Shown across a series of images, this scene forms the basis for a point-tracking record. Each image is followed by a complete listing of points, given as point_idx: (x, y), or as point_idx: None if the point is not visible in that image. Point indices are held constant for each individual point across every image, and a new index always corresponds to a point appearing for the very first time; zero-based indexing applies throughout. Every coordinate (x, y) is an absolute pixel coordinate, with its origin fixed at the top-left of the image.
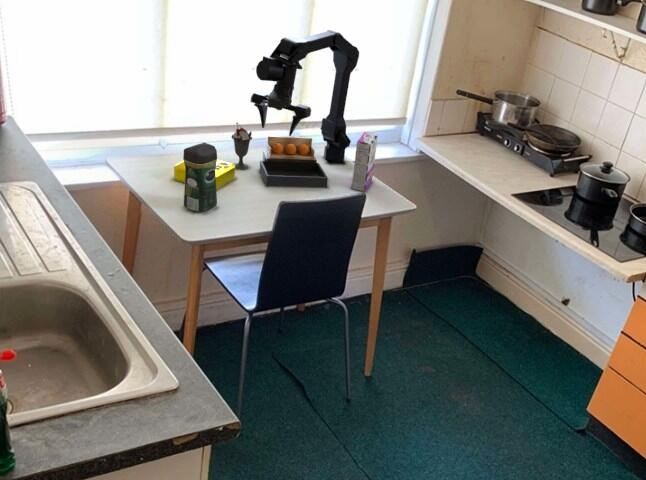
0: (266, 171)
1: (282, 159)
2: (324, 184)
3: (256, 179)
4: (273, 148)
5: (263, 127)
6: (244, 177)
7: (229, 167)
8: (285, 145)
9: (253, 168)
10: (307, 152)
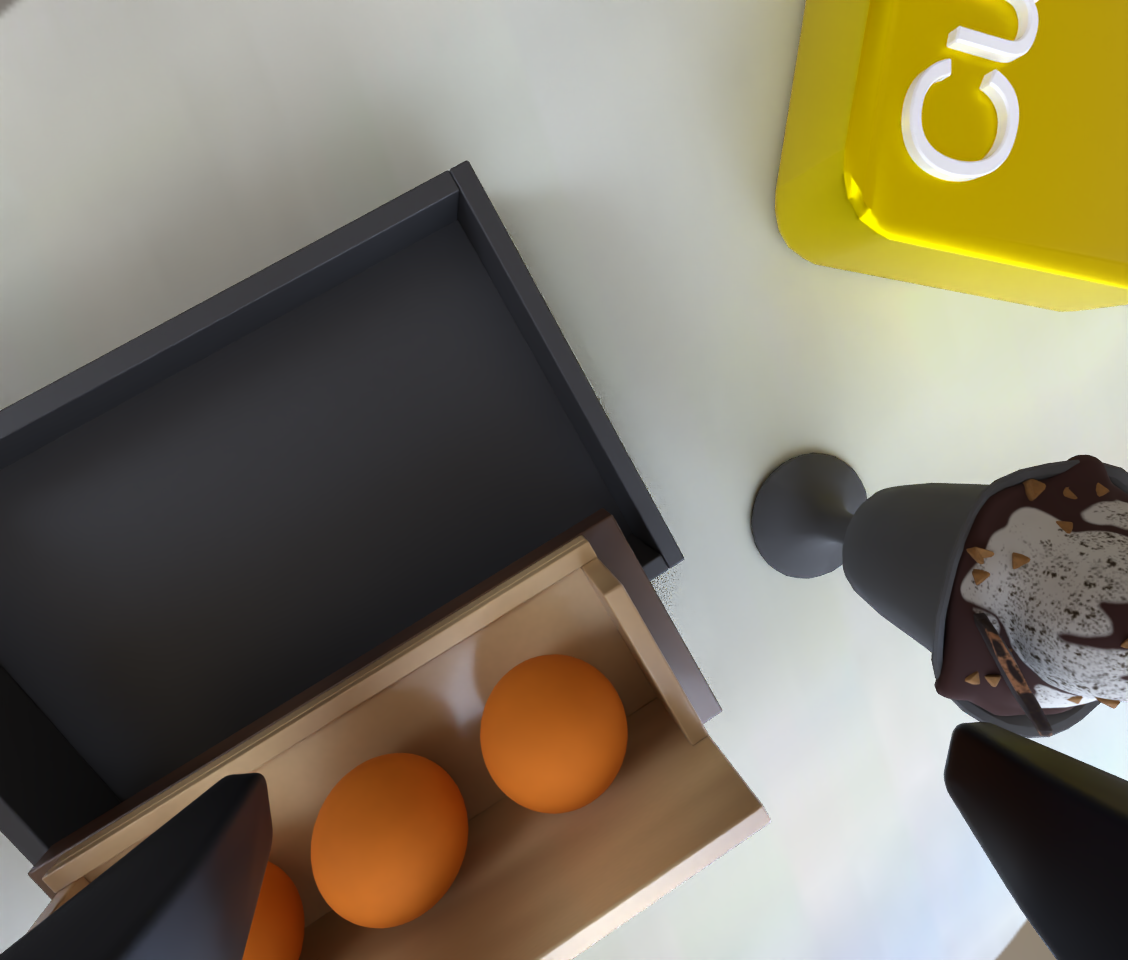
0: (522, 295)
1: (443, 614)
2: None
3: (604, 319)
4: (600, 676)
5: (962, 744)
6: (710, 303)
7: (886, 90)
8: (490, 872)
9: (709, 552)
10: None
